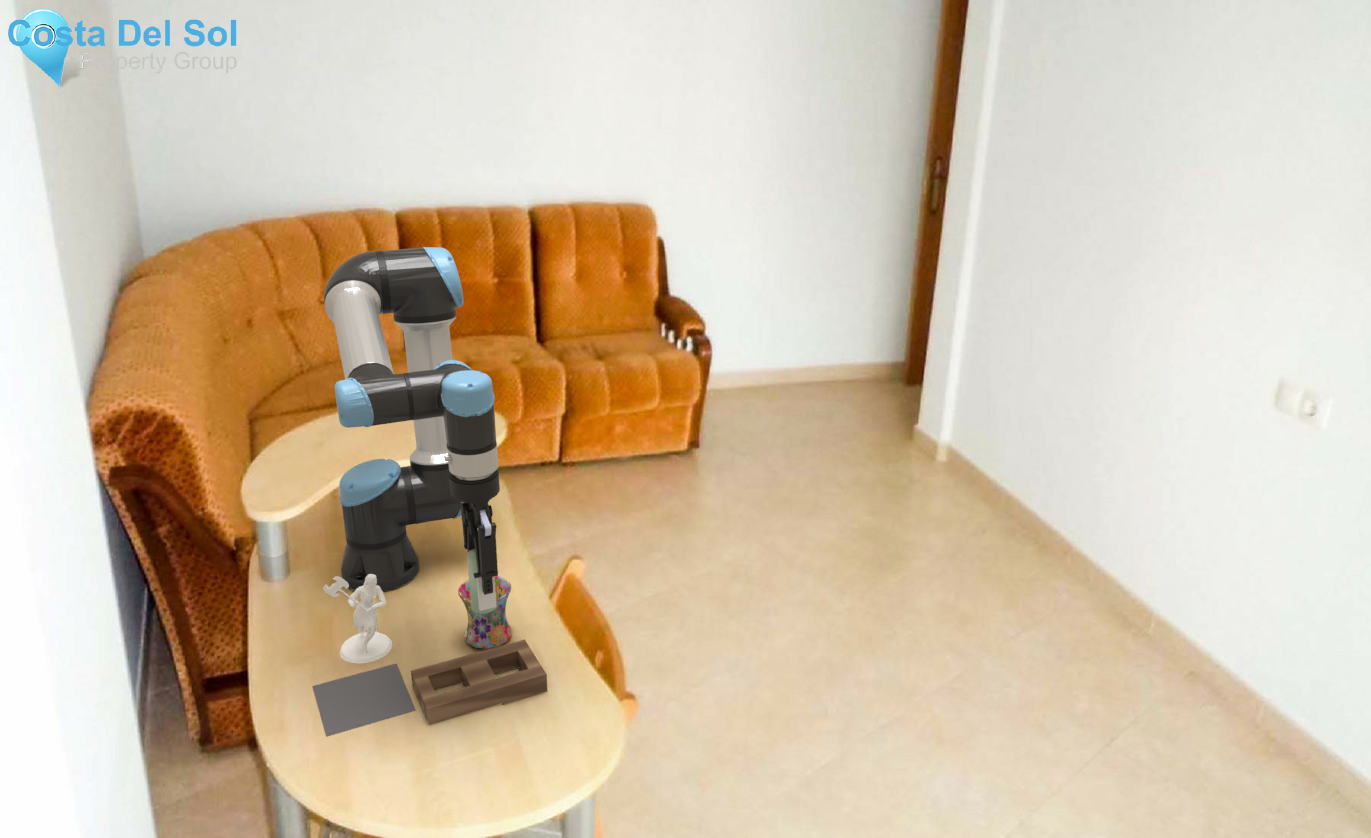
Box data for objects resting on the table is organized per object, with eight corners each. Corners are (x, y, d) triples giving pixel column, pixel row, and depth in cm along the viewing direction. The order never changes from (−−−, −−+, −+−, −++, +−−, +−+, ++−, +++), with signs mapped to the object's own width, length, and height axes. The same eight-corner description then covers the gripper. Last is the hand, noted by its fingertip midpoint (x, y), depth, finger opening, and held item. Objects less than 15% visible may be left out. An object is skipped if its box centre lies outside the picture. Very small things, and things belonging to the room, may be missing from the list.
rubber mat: (312, 688, 167) (312, 686, 167) (396, 665, 173) (396, 663, 173) (326, 738, 156) (326, 736, 155) (415, 712, 162) (415, 710, 161)
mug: (516, 649, 178) (513, 598, 174) (463, 656, 176) (459, 605, 171) (510, 612, 188) (507, 564, 184) (460, 619, 186) (455, 570, 182)
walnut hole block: (412, 687, 167) (410, 670, 166) (525, 655, 176) (524, 639, 175) (429, 726, 158) (427, 709, 157) (547, 691, 167) (546, 674, 166)
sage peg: (468, 603, 163) (464, 550, 159) (492, 598, 165) (488, 545, 161) (475, 616, 160) (470, 562, 156) (499, 610, 161) (495, 556, 158)
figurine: (334, 670, 172) (321, 580, 165) (337, 638, 180) (324, 552, 173) (393, 661, 174) (383, 573, 167) (393, 631, 182) (383, 545, 176)
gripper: (436, 454, 158) (448, 580, 167) (463, 498, 144) (474, 633, 153) (483, 446, 162) (492, 571, 170) (513, 488, 147) (521, 621, 156)
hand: (483, 600), depth 162 cm, fingers closed on sage peg, 4 cm apart
